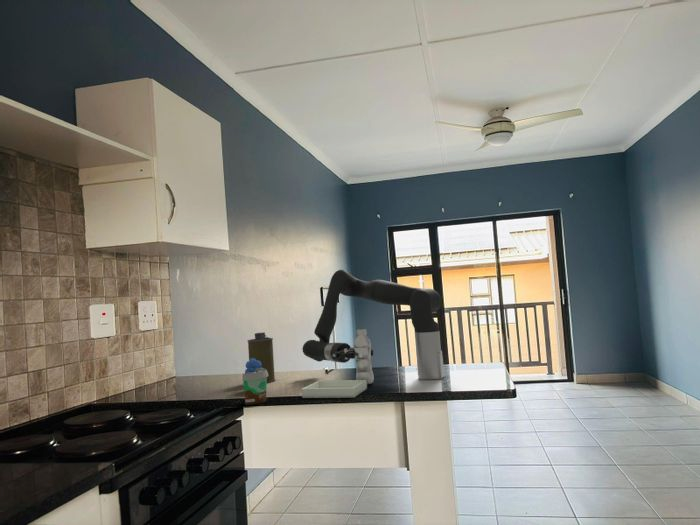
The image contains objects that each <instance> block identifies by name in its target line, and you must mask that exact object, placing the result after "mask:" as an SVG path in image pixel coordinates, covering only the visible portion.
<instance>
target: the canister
mask: <svg viewBox="0 0 700 525" xmlns="http://www.w3.org/2000/svg"><path fill="white" fill-rule="evenodd" d="M273 340H274V338H273V337H269V336H267V335H266V333H265V332H256V333H254V338H252V339H247V345H248V361H250V359H251V358H254V359H255V360H256V361H257V360H258V361H260V362H261V364H262V366H261V367H262V368H264V369H266V370H267V372H268V375H269V376H268V377H267V384H271V383H274V382H275V381H276V378H275V361H274V360H275V359H274V347H273V346H274V343H273Z"/></svg>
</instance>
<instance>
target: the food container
mask: <svg viewBox="0 0 700 525" xmlns="http://www.w3.org/2000/svg"><path fill="white" fill-rule="evenodd" d="M268 376H269V375H268V372H267V370H266V369H256V371H255V372H251V373H248V374H245V373H242V382H243V383H242V384H243V391H244V404H245V406H247V405H256V404H261V403H265V402H267V384H268V383H267V377H268Z"/></svg>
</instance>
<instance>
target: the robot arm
mask: <svg viewBox="0 0 700 525" xmlns="http://www.w3.org/2000/svg"><path fill="white" fill-rule="evenodd" d="M329 281H330V282H329V285H328V289H327V292H326V297H325V300H324V305H323V308H322V311H321V314H320V317H319V318H318V321H317V324H316V326H315V329H314V335H315V336H316V337H317V338H318V340H315V339H309V340H307V341H305V343H303V345H302V349H301V350H302V353H303V354H304V356H305V357H307V358H309V359H311V360H314V361H316V362H322V361H327V362H329V361H330V362H334V363H342V364H343V363H344V364H345V363H347V362H349V361H350V360H354V359H356V354H355V350H354V346H350V345H349V343H346V342H330V340H331V335H332V332H333V330H334V328H335V326H336V322H337V317H338V316H337V313H338V310H337V309H338V301H339V298H340V295H343V296H347V297H354V298H355V297H356V298H363V299H366V300H369V301H373V302H376V303H379V304H385V305H393V306H394V305H395V306H409V311H410V319H411V324H412V327H413V328H414V339H415V352H416V365H417V366H416V367H417V375H418V376H417V377H418V379H419V380H439V379H440V380H441V379H443V378H444V377H445V372H444V371H445V370H444V359H443V357H444V356H443V351H442V347H441V333H440V325H439V323H438V322H437V321H435V320H434V318H433V313H434V312H436V311H438V310H439V309H440V308H441V306H442V303H443V300H442V297H441V295H440V293H439V292H438V291H436V290H435V289H433V288H419V287H412V286H411V287H410V286H408V285H404V284H400V283H398V282H393V281H388V280H384V279H373V280H370V281H365V280H362V279H358V278H356V277H355V276H353V275H352V274H350V272H348V271H347V270H344V269H338V270H337V271H335V272H334V273H333V275H332V276H331V279H330V280H329ZM373 356H374V350H373V349H371V357H373Z"/></svg>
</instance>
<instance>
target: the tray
mask: <svg viewBox="0 0 700 525" xmlns="http://www.w3.org/2000/svg"><path fill="white" fill-rule="evenodd" d="M366 390H368V384H367V381H366V380H356V379H352V380H351V379H349V380H347V379H345V380H338V379H337V380H317V381H315V382H312V383H311V384H308V385H306V386H305V387H302V388H301V398H302V399H313V398H314V399H318V398H319V399H323V398H324V399H329V398H330V399H331V398H332V399H334V398H335V399H337V398H338V399H342V398H343V399H345V398H346V399H351V398H354V399H355V398H356V397H357V396H358V395H360V394H362V393H363V392H365V391H366Z"/></svg>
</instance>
